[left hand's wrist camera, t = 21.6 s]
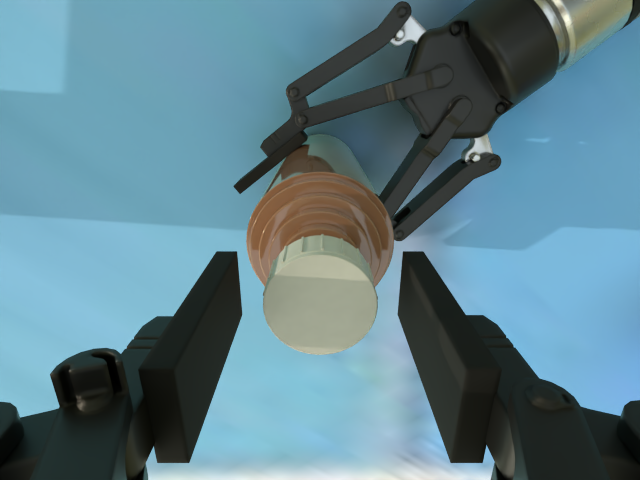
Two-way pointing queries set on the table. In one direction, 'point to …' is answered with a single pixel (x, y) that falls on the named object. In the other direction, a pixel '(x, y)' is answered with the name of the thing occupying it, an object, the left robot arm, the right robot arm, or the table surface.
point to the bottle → (320, 207)
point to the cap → (320, 295)
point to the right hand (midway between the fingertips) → (272, 223)
